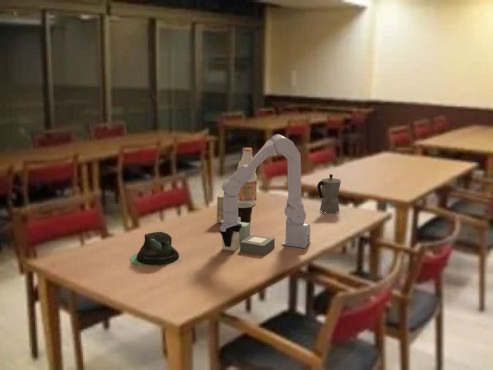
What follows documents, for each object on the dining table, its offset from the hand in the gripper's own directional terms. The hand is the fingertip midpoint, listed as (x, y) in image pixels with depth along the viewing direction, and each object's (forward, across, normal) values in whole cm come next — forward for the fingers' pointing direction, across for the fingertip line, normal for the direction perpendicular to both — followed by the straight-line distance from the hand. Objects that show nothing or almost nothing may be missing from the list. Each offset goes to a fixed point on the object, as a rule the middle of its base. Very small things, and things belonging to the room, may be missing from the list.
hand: (230, 244), depth 228 cm
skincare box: (+2, -30, -17) cm, 35 cm away
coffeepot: (+2, -67, +20) cm, 70 cm away
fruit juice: (+2, -64, -21) cm, 67 cm away
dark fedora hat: (+2, +22, -20) cm, 29 cm away
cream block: (+1, 0, 0) cm, 1 cm away
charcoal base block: (+2, -3, +10) cm, 11 cm away
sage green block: (+2, -13, -1) cm, 13 cm away
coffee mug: (+2, -25, -7) cm, 26 cm away
